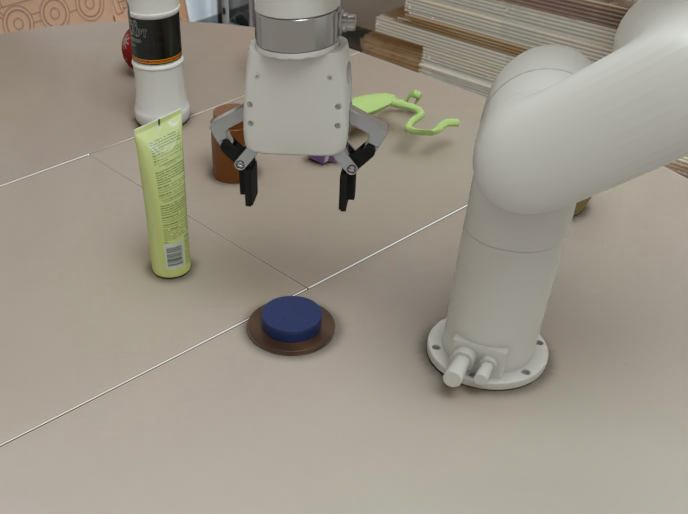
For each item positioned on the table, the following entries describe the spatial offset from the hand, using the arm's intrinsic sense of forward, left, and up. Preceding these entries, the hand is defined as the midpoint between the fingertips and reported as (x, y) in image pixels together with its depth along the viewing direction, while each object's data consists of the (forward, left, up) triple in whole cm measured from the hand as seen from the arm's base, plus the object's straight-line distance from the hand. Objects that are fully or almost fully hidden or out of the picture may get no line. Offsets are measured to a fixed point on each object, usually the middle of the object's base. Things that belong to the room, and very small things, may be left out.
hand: (297, 202), depth 85 cm
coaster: (-1, 0, -15) cm, 15 cm away
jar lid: (-1, 0, -13) cm, 13 cm away
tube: (+4, +19, -15) cm, 24 cm away
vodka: (+42, +44, -15) cm, 62 cm away
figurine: (+48, +11, -15) cm, 52 cm away
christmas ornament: (+59, +58, -15) cm, 84 cm away
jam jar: (+30, +24, -15) cm, 41 cm away
